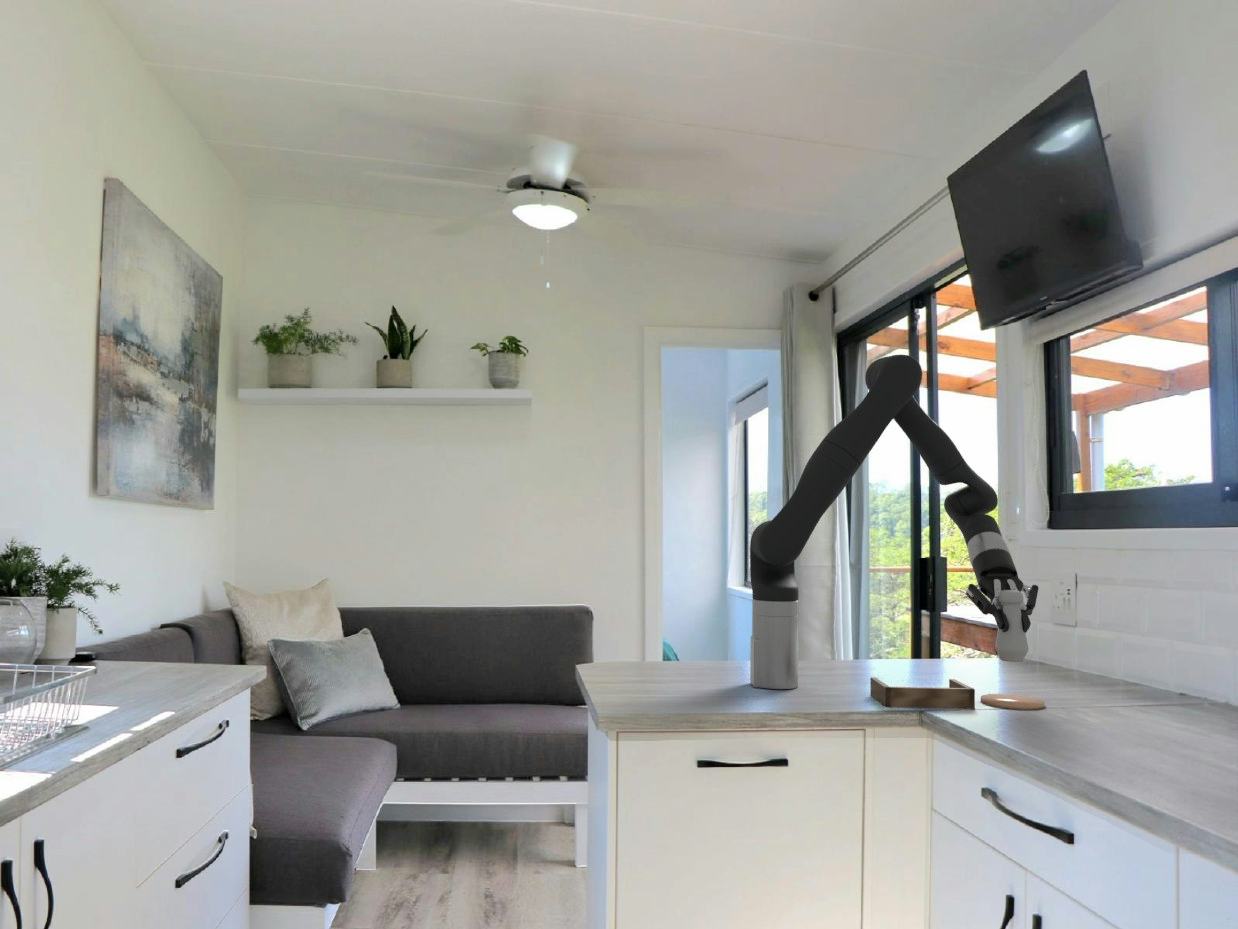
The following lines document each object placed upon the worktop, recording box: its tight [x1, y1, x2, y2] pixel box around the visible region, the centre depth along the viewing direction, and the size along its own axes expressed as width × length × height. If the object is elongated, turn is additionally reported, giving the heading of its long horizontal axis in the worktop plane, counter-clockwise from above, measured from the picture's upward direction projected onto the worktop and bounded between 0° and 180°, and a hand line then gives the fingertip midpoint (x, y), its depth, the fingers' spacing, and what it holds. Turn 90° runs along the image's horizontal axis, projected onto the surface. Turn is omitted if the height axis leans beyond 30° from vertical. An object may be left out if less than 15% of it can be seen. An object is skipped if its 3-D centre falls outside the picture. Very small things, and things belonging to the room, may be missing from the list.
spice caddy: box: [869, 677, 976, 710], centre depth 177 cm, size 16×11×4 cm
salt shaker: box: [994, 590, 1029, 663], centre depth 178 cm, size 6×6×13 cm
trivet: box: [980, 693, 1046, 711], centre depth 177 cm, size 11×11×1 cm
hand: (1015, 629), depth 176 cm, fingers closed on salt shaker, 3 cm apart
